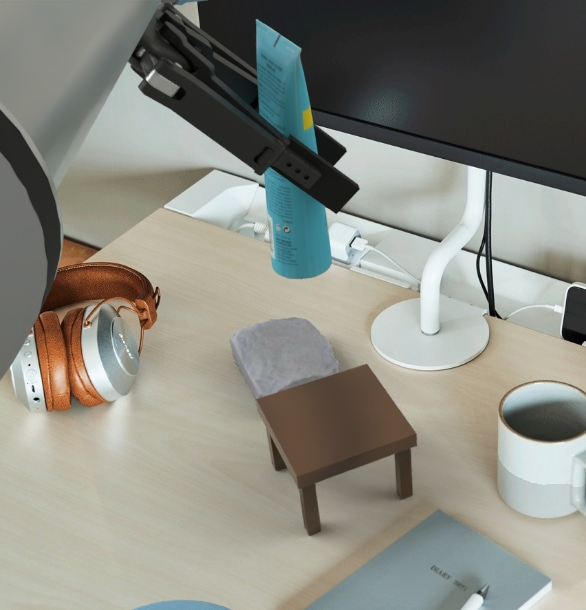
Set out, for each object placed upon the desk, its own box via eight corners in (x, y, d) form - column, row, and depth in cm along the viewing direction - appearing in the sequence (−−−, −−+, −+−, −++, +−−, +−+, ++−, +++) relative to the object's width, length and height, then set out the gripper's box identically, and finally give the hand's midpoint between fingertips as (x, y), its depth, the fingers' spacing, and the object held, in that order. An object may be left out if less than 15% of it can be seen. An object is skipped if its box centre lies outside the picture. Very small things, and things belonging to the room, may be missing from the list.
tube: (351, 274, 75) (332, 40, 64) (299, 294, 72) (270, 55, 61) (304, 237, 79) (279, 13, 68) (253, 255, 77) (219, 26, 66)
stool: (306, 541, 81) (296, 476, 76) (266, 461, 89) (255, 399, 84) (419, 496, 85) (416, 433, 81) (371, 424, 93) (367, 363, 88)
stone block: (308, 344, 106) (222, 356, 101) (313, 309, 104) (225, 320, 99) (349, 407, 98) (259, 424, 93) (356, 371, 96) (263, 387, 91)
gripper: (51, -18, 68) (298, 161, 81) (15, 75, 53) (325, 276, 66) (111, -98, 66) (354, 99, 79) (92, -25, 51) (395, 202, 64)
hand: (340, 179), depth 72 cm, fingers closed on tube, 6 cm apart
